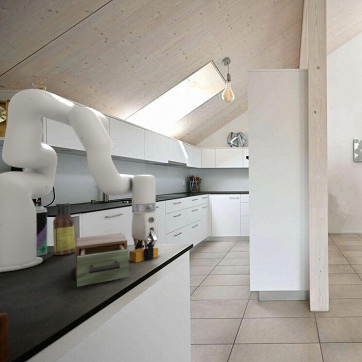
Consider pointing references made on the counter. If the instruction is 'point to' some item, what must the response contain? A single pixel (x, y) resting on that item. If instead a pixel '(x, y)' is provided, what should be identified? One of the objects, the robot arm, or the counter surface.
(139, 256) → the orange block
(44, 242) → the spray can
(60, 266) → the counter surface
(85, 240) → the cabinet
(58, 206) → the sauce bottle
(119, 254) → the drawer
